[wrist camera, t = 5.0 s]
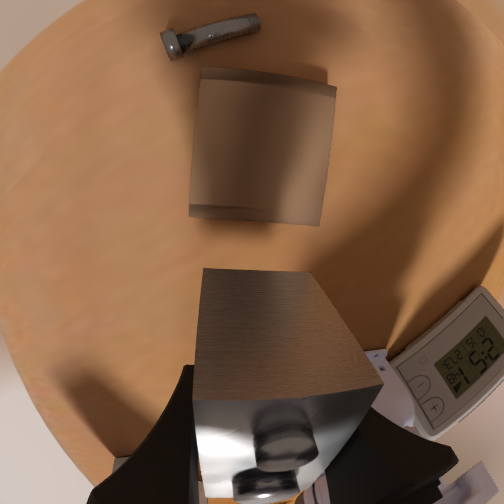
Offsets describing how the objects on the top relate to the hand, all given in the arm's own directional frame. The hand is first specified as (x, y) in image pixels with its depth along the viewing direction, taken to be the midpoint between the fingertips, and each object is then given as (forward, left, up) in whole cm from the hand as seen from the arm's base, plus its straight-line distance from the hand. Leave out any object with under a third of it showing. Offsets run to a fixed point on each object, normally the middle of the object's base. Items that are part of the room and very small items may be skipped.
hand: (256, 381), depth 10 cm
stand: (-1, -9, -9) cm, 13 cm away
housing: (0, 0, -2) cm, 2 cm away
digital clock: (-23, +7, -10) cm, 26 cm away
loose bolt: (+3, -17, -9) cm, 19 cm away
